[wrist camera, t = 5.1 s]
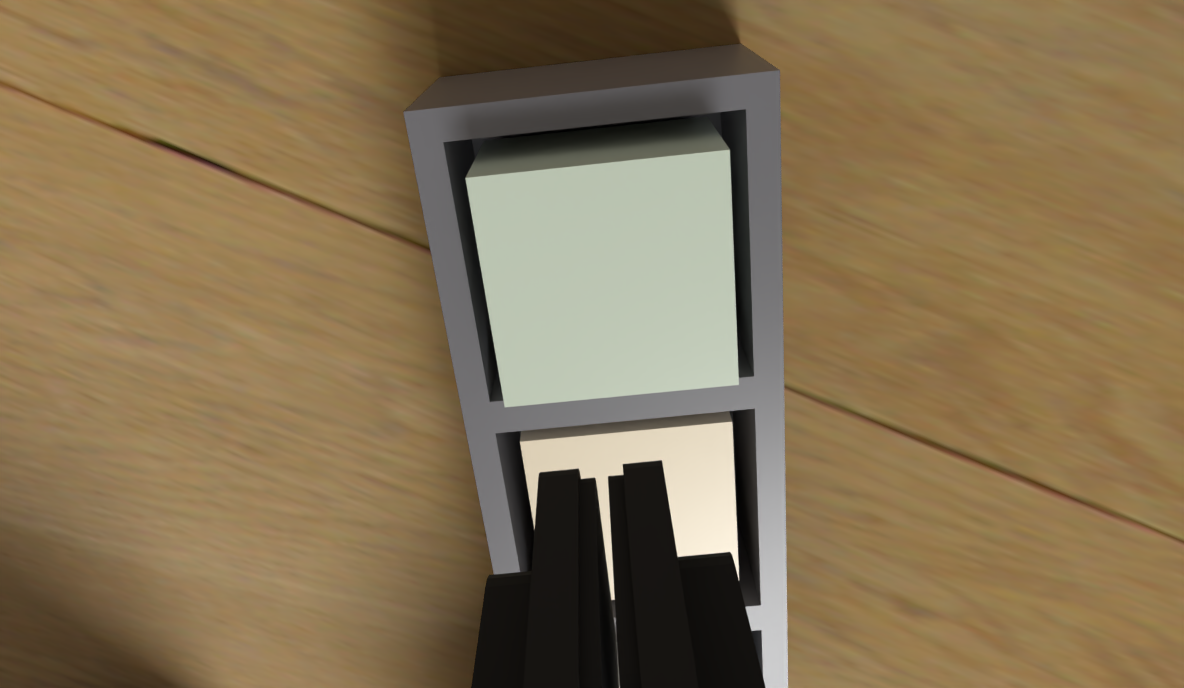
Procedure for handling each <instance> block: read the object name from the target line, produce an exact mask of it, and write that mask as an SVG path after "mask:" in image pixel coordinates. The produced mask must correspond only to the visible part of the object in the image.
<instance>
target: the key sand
mask: <svg viewBox="0 0 1184 688" xmlns="http://www.w3.org/2000/svg"><path fill="white" fill-rule="evenodd" d="M520 445H521V451H522V457H523V463H524V469H525V475H526V481H527V488H528V494H529V500H530V506H531V512H532V518H533V524H534V530H535V517H536V503H537V489H538V477H539V473H540V472H548V471H558V470H568V469H578V468H579V471H580V476H581V479H585V478H596V484H597V491H598V499H599V507H600V515H601V523H602V531H603V538H604V546H605V554H606V562H607V570H608V578H609V586H610V593H611V600H615V595H614V578H613V560H612V542H611V524H610V506H609V489H608V476H615V475H623V464H628V463H638V462H648V461H658V460H662V463H663V469H664V476H665V482H666V488H667V494H668V500H669V507H670V513H671V519H672V525H673V531H674V538H675V544H676V550H677V556H678V557H682V556H692V555H703V554H713V553H723V552H731V554H732V556H733V560H734V563H735V567H736V571H737V575H738V579H739V564H738V540H737V517H736V494H735V471H734V447H733V424H732V419H731V415H730V412H729V411H725V412H714V413H704V414H693V415H683V416H672V417H662V418H652V419H641V420H631V421H620V422H610V423H599V424H589V425H578V426H568V427H557V428H547V429H536V430H526V431H521V437H520Z"/></svg>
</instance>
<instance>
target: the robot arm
mask: <svg viewBox="0 0 1184 688" xmlns="http://www.w3.org/2000/svg"><path fill="white" fill-rule="evenodd" d="M608 489H609V506H610V524H611V542H612V560H613V578H614V595H615V613H616V631H617V644H616V634H615V625H614V617H613V609H612V601H611V593H610V586H609V578H608V570H607V562H606V554H605V546H604V538H603V531H602V523H601V515H600V507H599V499H598V491H597V484H596V478H585V479H581V476H580V471H579V468H578V469H568V470H558V471H548V472H540V473H539V477H538V489H537V503H536V517H535V531H534V545H533V559H532V571H526V572H515V573H505V574H495V575H489V577H488V579H487V583H486V587H485V595H484V602H483V609H482V616H481V623H480V630H479V637H478V644H477V651H476V659H475V666H474V673H473V680H472V687H471V688H619V683H620V688H766V687H765V683H764V679H763V675H762V671H761V667H760V663H759V659H758V655H757V651H756V647H755V643H754V639H753V635H752V631H751V627H750V623H749V619H748V615H747V611H746V607H745V603H744V599H743V595H742V591H741V587H740V583H739V579H738V575H737V571H736V567H735V563H734V560H733V556H732V554H731V552H723V553H713V554H703V555H692V556H682V557H678V556H677V550H676V544H675V538H674V531H673V525H672V519H671V513H670V507H669V500H668V494H667V488H666V482H665V476H664V469H663V463H662V460H658V461H648V462H638V463H628V464H623V475H615V476H608ZM617 649H618V658H617ZM618 667H619V676H618Z"/></svg>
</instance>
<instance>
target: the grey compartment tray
mask: <svg viewBox="0 0 1184 688" xmlns="http://www.w3.org/2000/svg"><path fill="white" fill-rule="evenodd" d="M705 116H707V117H708V118H709V120H710V121H711V123H712V124H713V126H714V127H715V129H716V130H717V131H718V133H719V134H720V136H721V137H722V139H723V140H724V142H725V143H726V145H727V146H728V148H729V149H730V167H731V193H732V219H733V245H734V271H735V297H736V323H737V349H738V375H739V385H732V386H722V387H711V388H701V389H691V390H680V391H670V392H660V393H649V394H639V395H629V396H618V397H608V398H597V399H587V400H577V401H566V402H556V403H546V404H535V405H525V406H515V407H505V406H504V400H503V394H502V389H501V383H500V377H499V371H498V365H497V359H496V354H495V348H494V342H493V336H492V330H491V324H490V319H489V313H488V307H487V301H486V295H485V289H484V283H483V278H482V272H481V266H480V260H479V254H478V248H477V243H476V237H475V231H474V225H473V219H472V213H471V208H470V202H469V196H468V190H467V184H466V176H467V174H468V172H469V170H470V168H471V166H472V164H473V162H474V160H475V158H476V156H477V154H478V152H479V150H480V148H481V146H482V144H483V142H484V141H485V140H494V139H503V138H512V137H522V136H531V135H540V134H549V133H558V132H567V131H577V130H586V129H595V128H604V127H613V126H623V125H632V124H641V123H650V122H659V121H668V120H678V119H687V118H696V117H705ZM404 117H405V123H406V128H407V133H408V138H409V143H410V148H411V153H412V158H413V163H414V169H415V174H416V179H417V184H418V189H419V194H420V199H421V204H422V209H423V215H424V220H425V225H426V230H427V235H428V240H429V245H430V250H431V255H432V261H433V266H434V271H435V276H436V281H437V286H438V291H439V296H440V301H441V307H442V312H443V317H444V322H445V327H446V332H447V337H448V342H449V347H450V353H451V358H452V363H453V368H454V373H455V378H456V383H457V388H458V393H459V398H460V404H461V409H462V414H463V419H464V424H465V429H466V434H467V439H468V444H469V450H470V455H471V460H472V465H473V470H474V475H475V480H476V485H477V490H478V496H479V501H480V506H481V511H482V516H483V521H484V526H485V531H486V536H487V542H488V547H489V552H490V557H491V562H492V567H493V572H494V575H495V574H505V573H515V572H526V571H532V559H533V545H534V531H535V530H534V524H533V518H532V512H531V506H530V500H529V494H528V488H527V481H526V475H525V469H524V463H523V457H522V451H521V445H520V437H521V431H526V430H536V429H547V428H557V427H568V426H578V425H589V424H599V423H610V422H620V421H631V420H641V419H652V418H662V417H672V416H683V415H693V414H704V413H714V412H725V411H729V412H730V415H731V419H732V424H733V447H734V471H735V494H736V517H737V540H738V564H739V583H740V587H741V591H742V595H743V599H744V603H745V607H746V611H747V615H748V619H749V623H750V627H751V631H752V635H753V639H754V643H755V647H756V651H757V655H758V659H759V663H760V667H761V671H762V675H763V679H764V683H765V687H766V688H788V649H787V574H786V499H785V423H784V348H783V273H782V198H781V123H780V70H779V69H777V68H776V67H774V66H773V65H772V64H770V63H769V62H767V61H766V60H764V59H763V58H761V57H760V56H758V55H757V54H755V53H754V52H753V51H751V50H750V49H748V48H747V47H745V46H744V45H742V44H734V45H725V46H716V47H707V48H698V49H689V50H680V51H671V52H662V53H653V54H644V55H635V56H626V57H618V58H609V59H600V60H591V61H582V62H573V63H564V64H555V65H546V66H537V67H528V68H519V69H510V70H501V71H493V72H484V73H475V74H466V75H457V76H448V77H439V78H438V79H437V80H436V81H435V82H434V83H433V84H432V85H431V86H430V87H429V88H428V89H427V90H426V91H425V92H424V93H423V94H422V95H420V96H419V97H418V98H417V99H416V100H415V101H414V102H413V103H412V104H411V105H410V106H409V107H408V108H407V109H406V110H405V111H404ZM611 601H612V609H613V617H614V625H615V634H616V642H617V631H616V613H615V600H611Z"/></svg>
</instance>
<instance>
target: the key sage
mask: <svg viewBox="0 0 1184 688" xmlns="http://www.w3.org/2000/svg"><path fill="white" fill-rule="evenodd" d="M466 184H467V190H468V196H469V202H470V208H471V213H472V219H473V225H474V231H475V237H476V243H477V248H478V254H479V260H480V266H481V272H482V278H483V283H484V289H485V295H486V301H487V307H488V313H489V319H490V324H491V330H492V336H493V342H494V348H495V354H496V359H497V365H498V371H499V377H500V383H501V389H502V394H503V400H504V406H505V407H515V406H525V405H535V404H546V403H556V402H566V401H577V400H587V399H597V398H608V397H618V396H629V395H639V394H649V393H660V392H670V391H680V390H691V389H701V388H711V387H722V386H732V385H739V375H738V349H737V323H736V297H735V271H734V245H733V219H732V193H731V167H730V149H729V148H728V146H727V145H726V143H725V142H724V140H723V139H722V137H721V136H720V134H719V133H718V131H717V130H716V129H715V127H714V126H713V124H712V123H711V121H710V120H709V118H708V117H707V116H705V117H696V118H687V119H678V120H668V121H659V122H650V123H641V124H632V125H623V126H613V127H604V128H595V129H586V130H577V131H567V132H558V133H549V134H540V135H531V136H522V137H512V138H503V139H494V140H485V141H484V142H483V144H482V146H481V148H480V150H479V152H478V154H477V156H476V158H475V160H474V162H473V164H472V166H471V168H470V170H469V172H468V174H467V176H466Z"/></svg>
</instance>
